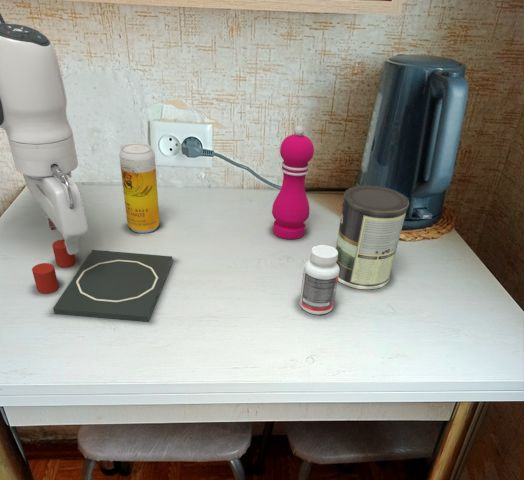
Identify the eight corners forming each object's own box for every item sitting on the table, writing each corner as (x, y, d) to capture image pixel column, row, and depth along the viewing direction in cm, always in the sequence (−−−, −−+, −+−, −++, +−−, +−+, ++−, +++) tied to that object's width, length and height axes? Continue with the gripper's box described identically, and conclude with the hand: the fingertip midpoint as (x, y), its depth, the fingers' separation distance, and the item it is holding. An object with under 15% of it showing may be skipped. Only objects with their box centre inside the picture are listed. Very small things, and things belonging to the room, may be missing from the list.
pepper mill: (300, 244, 97) (313, 135, 84) (265, 235, 98) (272, 127, 86) (311, 228, 102) (325, 124, 89) (277, 221, 104) (286, 117, 91)
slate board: (54, 313, 75) (52, 307, 74) (93, 254, 89) (92, 249, 88) (148, 321, 75) (147, 315, 74) (172, 261, 89) (172, 255, 88)
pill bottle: (338, 313, 80) (348, 258, 73) (305, 317, 78) (313, 261, 72) (325, 294, 84) (334, 241, 77) (294, 298, 82) (301, 243, 76)
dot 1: (33, 292, 79) (28, 272, 77) (42, 281, 81) (36, 262, 79) (54, 294, 79) (49, 274, 77) (61, 283, 81) (57, 263, 79)
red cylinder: (53, 266, 85) (48, 247, 83) (60, 257, 88) (56, 238, 85) (72, 268, 85) (68, 249, 83) (78, 259, 88) (75, 240, 85)
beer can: (121, 229, 97) (111, 149, 88) (140, 217, 101) (132, 139, 92) (147, 237, 95) (140, 156, 86) (166, 224, 100) (160, 146, 90)
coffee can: (321, 277, 88) (333, 199, 79) (344, 254, 95) (358, 179, 86) (377, 297, 84) (397, 217, 75) (397, 271, 91) (417, 195, 82)
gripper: (90, 175, 70) (104, 263, 79) (47, 132, 83) (63, 212, 92) (43, 182, 67) (64, 273, 76) (5, 137, 80) (27, 219, 89)
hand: (63, 239), depth 84 cm, fingers open, 8 cm apart
